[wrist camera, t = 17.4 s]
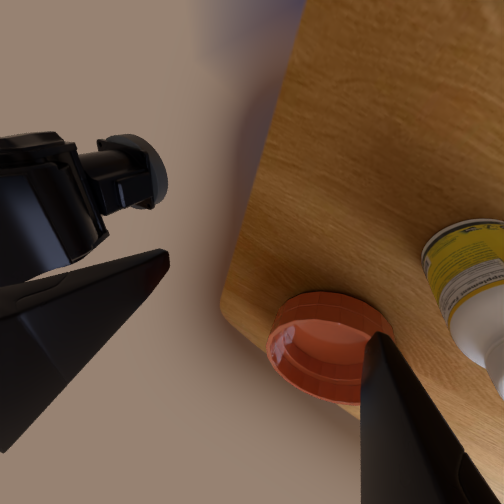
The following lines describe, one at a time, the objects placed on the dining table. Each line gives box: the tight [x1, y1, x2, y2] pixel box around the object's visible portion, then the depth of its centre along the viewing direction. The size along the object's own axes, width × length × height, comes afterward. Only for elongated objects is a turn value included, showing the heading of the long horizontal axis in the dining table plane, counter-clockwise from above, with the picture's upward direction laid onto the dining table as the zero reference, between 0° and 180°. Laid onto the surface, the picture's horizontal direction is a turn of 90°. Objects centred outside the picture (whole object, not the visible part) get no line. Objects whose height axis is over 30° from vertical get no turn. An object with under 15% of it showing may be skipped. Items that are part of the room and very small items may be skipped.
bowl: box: [266, 291, 397, 406], centre depth 25 cm, size 13×13×4 cm
